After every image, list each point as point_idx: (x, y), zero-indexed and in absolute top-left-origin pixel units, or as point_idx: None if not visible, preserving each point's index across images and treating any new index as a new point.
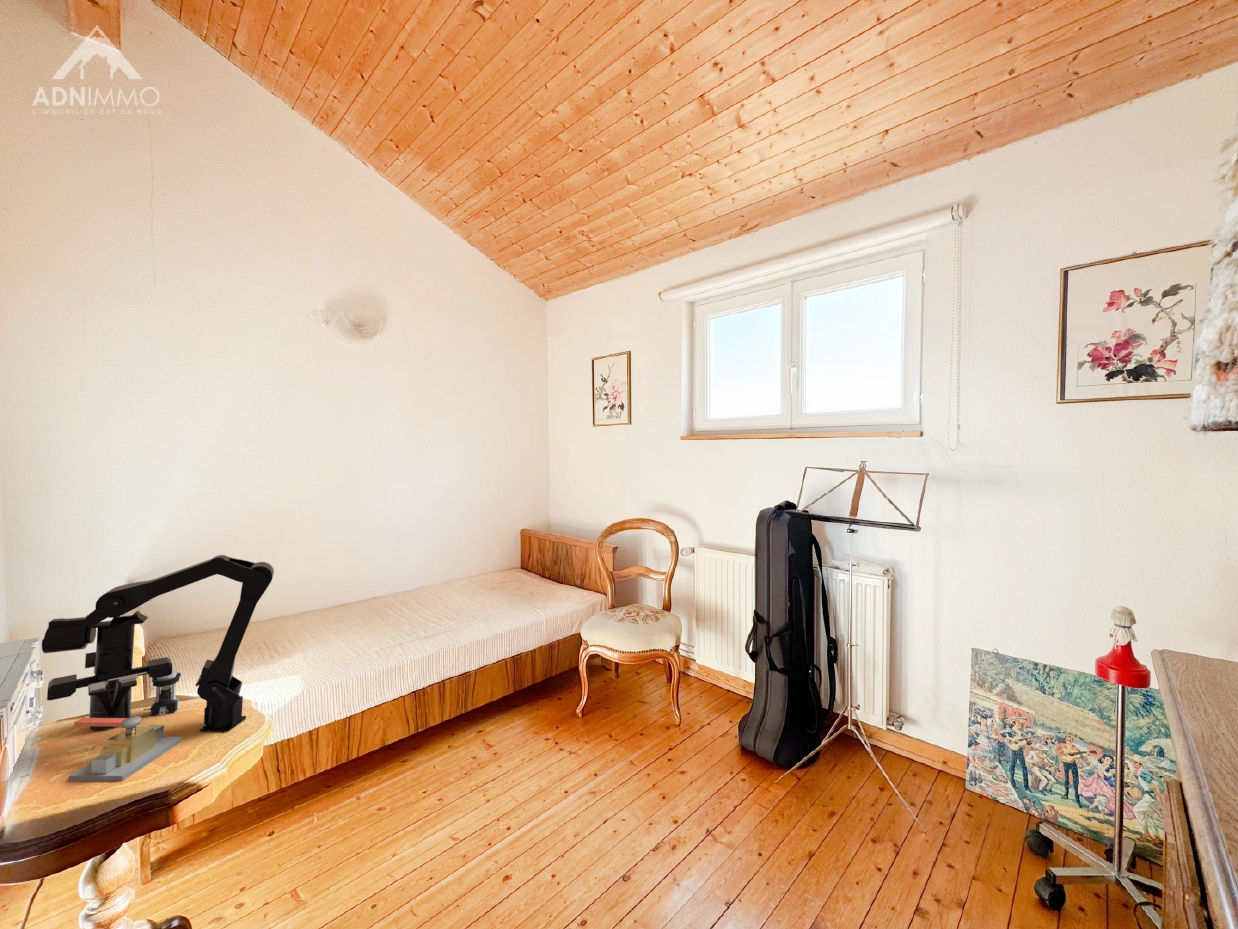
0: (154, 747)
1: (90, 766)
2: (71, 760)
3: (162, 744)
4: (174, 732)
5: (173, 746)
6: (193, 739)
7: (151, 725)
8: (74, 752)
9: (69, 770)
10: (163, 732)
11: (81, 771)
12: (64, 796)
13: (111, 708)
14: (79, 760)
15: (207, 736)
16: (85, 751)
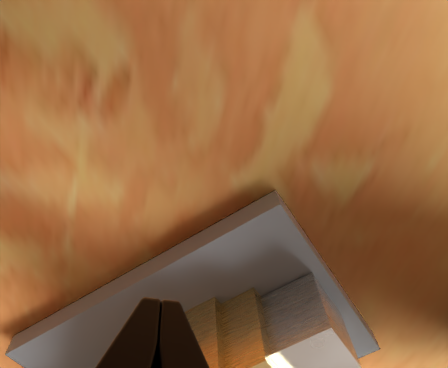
0: None
1: (73, 340)
2: (17, 162)
3: None
4: (412, 234)
5: None
6: (401, 343)
7: (329, 332)
8: (28, 66)
9: (13, 257)
10: (347, 335)
11: (43, 355)
12: None
13: (155, 359)
14: (49, 193)
15: (437, 355)
16: (77, 105)
